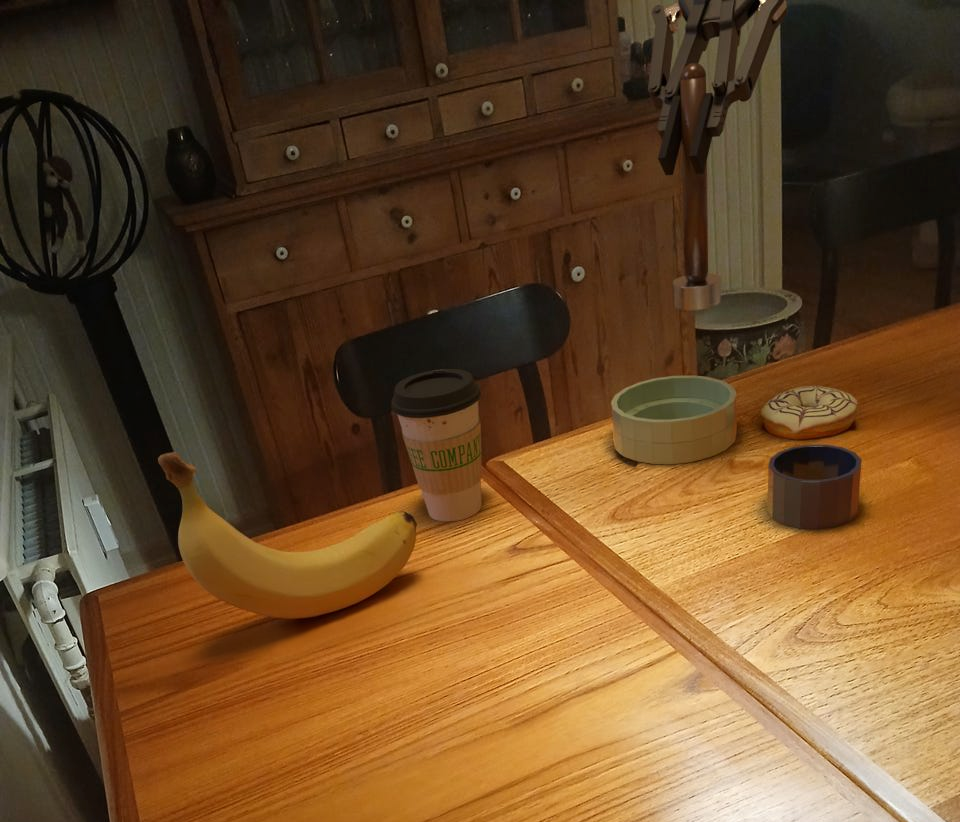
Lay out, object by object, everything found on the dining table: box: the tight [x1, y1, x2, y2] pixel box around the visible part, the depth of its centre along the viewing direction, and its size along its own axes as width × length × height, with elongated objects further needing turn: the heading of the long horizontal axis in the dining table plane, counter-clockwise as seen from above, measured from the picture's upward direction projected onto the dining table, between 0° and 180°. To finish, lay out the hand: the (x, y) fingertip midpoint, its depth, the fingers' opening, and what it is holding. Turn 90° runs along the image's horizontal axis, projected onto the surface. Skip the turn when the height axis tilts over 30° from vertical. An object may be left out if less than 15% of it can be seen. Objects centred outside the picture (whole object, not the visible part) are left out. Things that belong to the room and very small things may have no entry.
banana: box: [157, 451, 418, 620], centre depth 93 cm, size 23×6×20 cm, turn 117°
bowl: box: [610, 375, 738, 465], centre depth 117 cm, size 14×14×6 cm
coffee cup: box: [390, 368, 483, 523], centre depth 109 cm, size 10×10×15 cm
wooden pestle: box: [672, 63, 722, 311], centre depth 99 cm, size 5×5×22 cm
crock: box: [766, 444, 863, 531], centre depth 98 cm, size 9×9×6 cm
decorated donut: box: [760, 385, 858, 440], centre depth 117 cm, size 10×11×4 cm
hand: (680, 165), depth 94 cm, fingers closed on wooden pestle, 2 cm apart
